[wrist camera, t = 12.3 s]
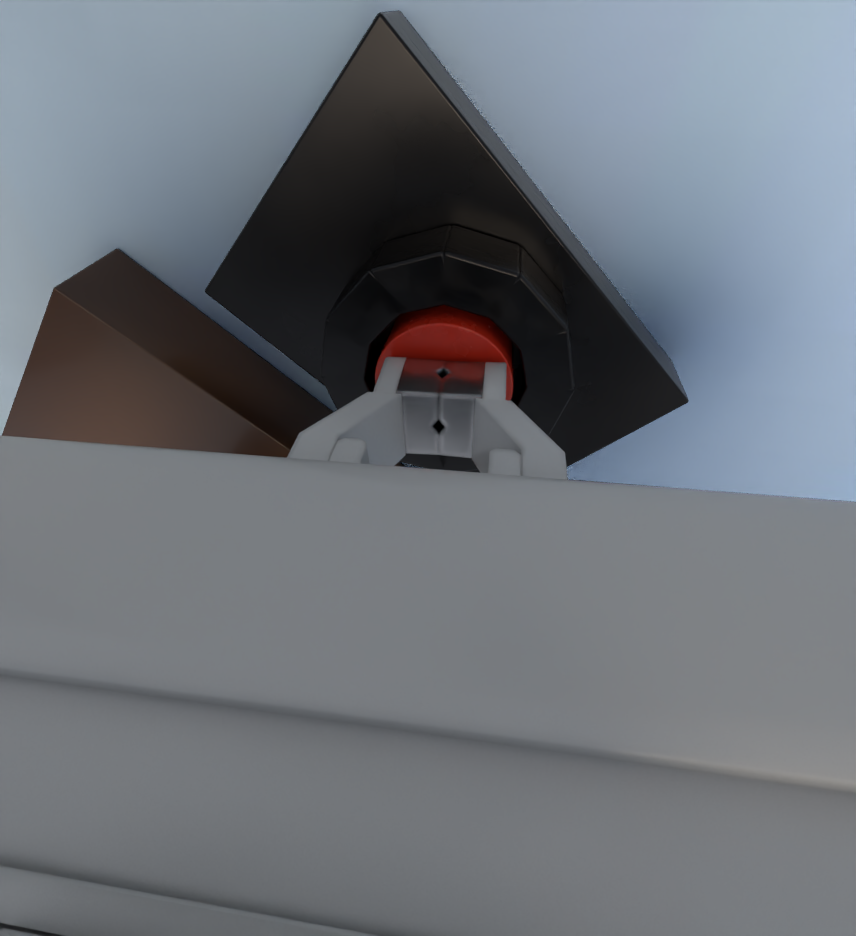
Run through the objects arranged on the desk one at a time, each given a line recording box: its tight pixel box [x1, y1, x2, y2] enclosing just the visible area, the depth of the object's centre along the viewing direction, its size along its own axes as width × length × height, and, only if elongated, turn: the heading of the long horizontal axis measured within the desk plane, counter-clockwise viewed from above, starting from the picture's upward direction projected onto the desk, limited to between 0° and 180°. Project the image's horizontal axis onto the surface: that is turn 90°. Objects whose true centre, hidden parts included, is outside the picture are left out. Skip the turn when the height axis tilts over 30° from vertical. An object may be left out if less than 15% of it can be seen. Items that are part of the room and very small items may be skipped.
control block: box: [205, 11, 688, 473], centre depth 14 cm, size 12×8×4 cm, turn 46°
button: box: [375, 305, 514, 400], centre depth 13 cm, size 4×4×2 cm
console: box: [2, 249, 405, 467], centre depth 20 cm, size 14×9×3 cm, turn 46°
